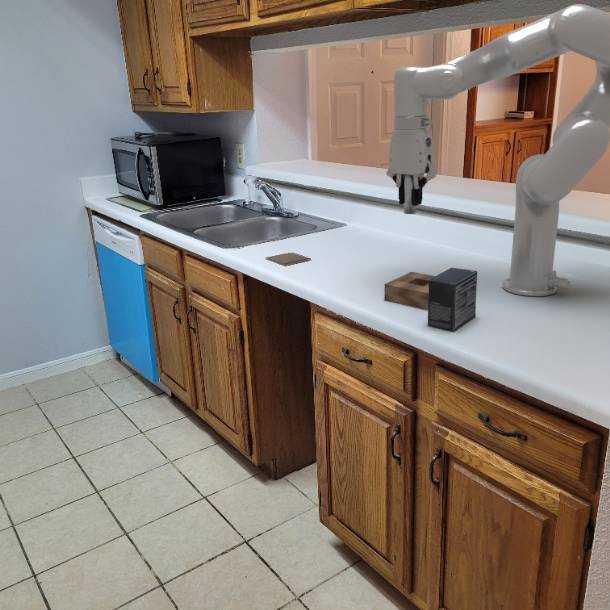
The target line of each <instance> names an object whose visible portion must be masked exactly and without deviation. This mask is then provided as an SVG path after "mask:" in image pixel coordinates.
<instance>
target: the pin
mask: <svg viewBox="0 0 610 610" xmlns="http://www.w3.org/2000/svg"><path fill="white" fill-rule="evenodd" d="M412 189H414V178H413V175H404V204H403V214H405V215H415V214H417V206H418V205H417V206H413V205H412Z"/></svg>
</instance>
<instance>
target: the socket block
mask: <svg viewBox="0 0 610 610" xmlns="http://www.w3.org/2000/svg"><path fill="white" fill-rule="evenodd" d="M435 276H436V275H431V274H428V273H427V274H425V273H420V272H415V271H410V272H408V273H406V274H404V275H402V276H398V277H397V278H395V279H393V280H390V281H388V282H386V283H385V284H384V292H383V293H384V297H383V298H384V301H386V302H390V303H394V304H395V303H396V304H399V305H403V306H408V307H413V308H417V309H421V310H427V311H428V294H429V279H431V278H433V277H435Z"/></svg>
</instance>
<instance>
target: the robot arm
mask: <svg viewBox="0 0 610 610" xmlns="http://www.w3.org/2000/svg"><path fill="white" fill-rule="evenodd" d="M569 52H573V53H576V54H578V55H580V56H583V57H584V58H585V57H586V58H587V59H590V60H593V61H594V63H595V67H596V75H595V79H594V81H593V83H592V85H591V86H590V87H589V89H588V90H587V91H586V93H585V95H584V96H583V97H582V98H581V99H580V100H579V101H578V103H577V104H576V105H575V106H574V107H573V109H571V111H570V112H569V113H568V114H567V116H565V118H563V120H562V121H561V122H560V123H559V124H558V125H557V126H556V128H555V130H554V132H553V134H552V145H551V147H550V148H549V149H548V150H547V151H546V153H545V154H544V153H543V154H540V153H539V154H535V155H531V156H529V157H527V158H526V159H525V160H524V161H523V162H522V163H521V164H520V166H519V168H518V170H517V172H516V178H515V209H514V211H515V212H514V224H513V234H512V235H513V236H512V249H511V259H510V261H511V262H510V273H509V277H508V278H505V279H504V280H503V281H502V288H503V289H504V290H505V291H507V292H509V293H512V294H514V295H519V296H527V297H528V296H529V297H544V296H549V295H554V294H555V293H557V292H558V290H559V289H564V290H568V289H570V285H571V284H570V283H571V282H570V280H568V278H566V277H558V275H557V273H558V272H557V270H554V261H555V253H556V242H557V241H556V240H557V233H558V226H559V217H560V201H562V200H563V199H564V198H565V197H567V196H568V195H569V194H570V193H571V192H572V191H573V190H574V189H575V188H576V187H577V186H578V185H579V184H580V183H581V181H582V180H583V179H584V178H585V177H586V176H587V175H588V174H589V173H590V171H592V169H593V168H595V166H596V165H597V163H599V162H600V161H601V159H602V158H603V156H604V155H605V153H606V151H607V149H608V148H609V145H610V13H609V12H606V11H604V10H601V9H599V8H595V7H593V6H590V5H587V4H583V3H576V4H571V5H569V6H568V5H567V6H566V7H564V8H562V9H560V10H557V11H556V12H553V13H551V14H549V15H546V16H544V17H541V18H540V19H537V20H535V21H533V22H530V23H528V24H526V25H523V26H521V27H518V28H516V29H514V30H512V31H508V32H506V33H504V34H503V35H500V36H499V37H496V38H495V39H493V40H492V41H490V42H488V43H487V44H485V45H483V46H481V47H479V48H476V49H474V50H472V51H471V52H468V53H466V54H464V55H461V56H460V57H459V56H458V57H457V58H454V59H451V60H449V61H447V62H445V63H441V64H436V65H430V66H422V65H419V66H418V65H416V66H414V65H413V66H403V67H402V66H401V67H399V68H397V69H396V70H395V71H394V74H393V75H394V76H393V85H394V86H393V101H394V102H393V106H394V107H393V109H394V110H393V112H394V113H393V114H394V117H393V120H394V121H393V122H394V123H393V125H394V126H393V127H394V128H393V129H394V130H393V131H391V137H390V141H389V153H388V154H389V155H388V157H389V159H388V169H387V171H386V175H387V177H389V178H390V179H392V180H393V182H394V183H395V184H396V185H395V186H396V188H398V204H399V205H404V175H413V178H414V189H412V205H413V206H420V205H421V204H422V201H423V188H425V186H426V185H427V184H428V183H429V181H431V180H433V179H435V178H436V177H437V175H436V172H435V151H434V140H433V134H432V130H431V129H428V127H429V126H432V124H433V119H431V118H429V114H428V112H429V109H428V107H429V106H428V105H429V99H434V100H445V101H446V100H447V101H449V100H451V99H454V98H455V97H457V96H458V95H459V94H461V93H462V92H463V93H464V92H465V91H468V90H470V89H473V88H475V87H477V86H480V85H483V84H485V83H488V82H490V81H494V80H498V79H503V78H508V77H510V76H512V75H516V74H518V73H521V72H523V71H525V70H528V69H531V68H532V67H535V66H537V65H540V64H543V63H545V62H548V61H549V60H553V59H555V58H557V57H560V56H563V55H564V54H566V53H569ZM425 174H426V175H425ZM558 288H559V289H558Z"/></svg>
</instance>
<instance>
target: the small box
mask: <svg viewBox="0 0 610 610" xmlns="http://www.w3.org/2000/svg"><path fill="white" fill-rule="evenodd" d="M434 276H435V277H433V278H431V279H429V294H428V310H427V327H431V328H434V329H438V330H442V331H448V332H453V333H455V332H456V331H457V330H459V329H460V328H461V327H463V326H465V325H466V324H467V323H468V322H470V321H472V320H473V319H475V318H476V313H477V312H476V311H477V310H476V308H477V306H476V305H477V284H478V282H477V281H478V270H473V269H466V268H464V269H463V268H458V267H450V268H448V269H446V270H443V272H441V273H439V274H436V275H434Z"/></svg>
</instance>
